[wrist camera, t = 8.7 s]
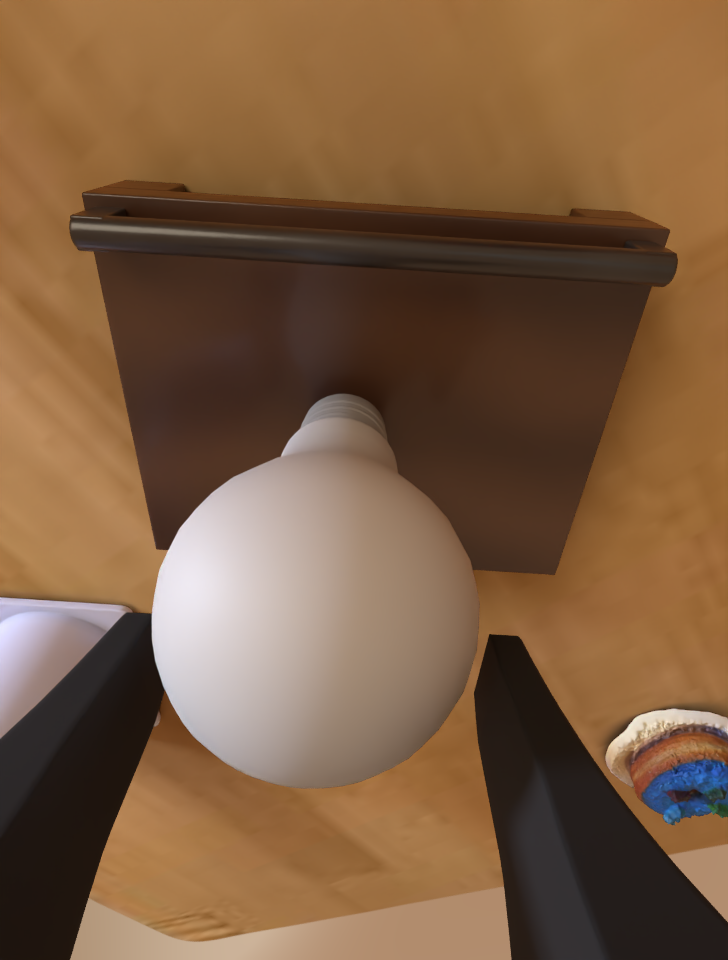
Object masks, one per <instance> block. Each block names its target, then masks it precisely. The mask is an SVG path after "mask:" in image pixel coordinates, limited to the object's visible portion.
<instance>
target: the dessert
mask: <svg viewBox="0 0 728 960" xmlns="http://www.w3.org/2000/svg"><path fill="white" fill-rule="evenodd" d="M605 756H606V757H605V758H606V764H607V766H608V768H609V769H610V771H611V772H612V774H613V775H615V776H617V778H619V779H620V780H621V781H623V782H624V783H625V784H627V785H629V786H630V787H632V788H634V787H635V792H636V794H637V797H638V798H639V799H640V800H641V801H642V802H643V803H644V804H646V805H647V806H648V807H649V808H651V809H653V810H654V811H656V812H657V813H659V814H662V815H664V816H663V819H664V820H665V822H667V823H668V824H671V825H675V821H676V822H678V823H679V822H680V818H681V819H682V818H684V817H688V818H691V816H694V815H696V816H704V814H706V815H707V814H709V813H711V812H712V813H713V815H714V814H715V813H716V814H718V815H720V817H722V818H723V817H728V719H727V718H726V717H722V716H720V715H717V714H714V713H711V712H700V711H695V710H694V711H690V710H689V711H687V710H678V709H669V710H665V711H662V710H661V711H652V712H649V713H647V714H642V715H640V716H637V717H636V718H634V720H633V721H632V722H631V723H630V724H629V727H628V728H627V729H626V730H625V731H624V732H623V733H622V734H620V735H619V736H618V737H617V738H615V739H614V740H613V742H611V744H610V745H609V747H608V750H607V753H606V755H605Z"/></svg>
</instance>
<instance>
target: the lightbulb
mask: <svg viewBox="0 0 728 960" xmlns="http://www.w3.org/2000/svg"><path fill="white" fill-rule="evenodd" d="M479 608H480V603H479V598H478V592H477V587H476V582H475V578H474V574H473V569H472V565H471V561H470V559H469V557H468V555H467V553H466V551H465V549H464V548H463V546H462V544H461V542H460V540H459V538H458V536H457V535H456V533H455V531H454V529H453V527H452V525H451V524H450V522H449V520H448V518H447V517H446V516H445V515H444V514H443V513H442V511H441V510H440V509H439V508H438V507H437V506H436V505H435V504H434V502H433V501H432V500H431V499H430V498H429V497H427V496H426V495H425V494H424V493H423V492H421V491H420V490H419V489H418V488H417V487H415V486H414V485H413V484H412V483H410V482H409V481H408V480H406V479H405V478H403V477H402V476H401V475H399V474H398V470H397V462H396V459H395V456H394V453H393V451H392V449H391V447H390V445H389V444H388V441H387V434H386V430H385V424H384V420H383V418H382V416H381V414H380V412H379V411H378V410H377V409H376V407H375V406H374V405H372V404H371V403H370V402H369V401H367V400H365V399H363V398H361V397H358V396H355V395H351V394H334V395H330V396H327V397H325V398H323V399H321V400H319V401H318V402H316V403H315V404H314V405H313V406H312V407H311V408H310V409H309V411H308V413H307V415H306V417H305V419H304V421H303V422H302V425H301V428H300V430H299V431H297V432H296V433H295V434H294V435H293V436H292V438H291V439H290V440H289V441H288V443H287V445H286V447H285V448H284V450H283V453H282V455H281V457H278V458H275V459H273V460H271V461H268V462H266V463H264V464H261V465H259V466H257V467H254V468H252V469H250V470H248V471H246V472H243V473H241V474H239V475H237V476H234V477H233V478H231V479H230V480H229V481H227V482H226V483H224V484H223V485H222V486H220V487H219V488H218V489H216V490H215V491H214V492H212V493H211V494H210V495H209V496H208V497H207V498H206V499H205V500H204V501H203V502H202V503H201V504H200V505H199V506H198V507H197V508H196V509H195V511H194V512H193V513H192V514H191V515H190V517H189V518H188V519H187V520H186V521H185V523H184V524H183V525H182V526H181V527H180V528H179V530H178V532H177V534H176V536H175V538H174V540H173V542H172V544H171V546H170V548H169V550H168V553H167V555H166V557H165V559H164V561H163V563H162V566H161V568H160V570H159V575H158V580H157V585H156V590H155V595H154V603H153V610H152V644H153V650H154V656H155V662H156V665H157V668H158V671H159V674H160V678H161V681H162V684H163V687H164V689H165V691H166V693H167V695H168V697H169V699H170V702H171V704H172V705H173V707H174V709H175V710H176V712H177V714H178V715H179V717H180V719H181V721H182V722H183V724H184V725H185V726H186V728H187V729H188V730H189V732H190V733H191V734H192V735H193V737H194V738H195V739H197V740H198V741H199V742H200V743H201V744H202V745H204V746H205V747H206V748H207V749H208V750H210V751H211V752H212V753H213V754H214V755H216V756H217V757H218V758H219V759H221V760H222V761H223V762H225V763H226V764H228V765H229V766H231V767H233V768H234V769H236V770H238V771H240V772H242V773H244V774H247V775H249V776H251V777H253V778H256V779H260V780H263V781H266V782H269V783H273V784H277V785H282V786H287V787H294V788H330V787H339V786H345V785H349V784H354V783H358V782H361V781H363V780H366V779H369V778H371V777H374V776H376V775H378V774H380V773H382V772H384V771H387V770H389V769H391V768H393V767H395V766H396V765H398V764H400V763H401V762H403V761H405V760H407V759H408V758H410V757H411V756H412V755H413V754H414V753H415V752H416V751H417V750H418V749H420V748H421V747H422V746H423V745H424V744H425V743H426V742H427V741H428V740H429V739H430V738H431V737H432V736H433V735H434V734H435V733H436V732H437V731H438V730H439V728H440V727H441V725H442V724H443V723H444V721H445V720H446V718H447V717H448V715H449V714H450V712H451V711H452V709H453V708H454V706H455V704H456V703H457V701H458V700H459V698H460V697H461V695H462V694H463V692H464V689H465V686H466V683H467V680H468V677H469V674H470V671H471V668H472V664H473V661H474V657H475V654H476V651H477V642H478V630H479Z"/></svg>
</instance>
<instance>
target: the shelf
mask: <svg viewBox="0 0 728 960" xmlns="http://www.w3.org/2000/svg"><path fill="white" fill-rule="evenodd" d="M82 197H83V202H84V207H85V211H82V212H79V213H76V214H73V215H71V216H70V224H69V229H70V235H71V239H72V241H73V243H74V245H75V246H76V247H77V249H78V250H80V251H94V254H95V259H96V264H97V269H98V273H99V278H100V283H101V288H102V293H103V297H104V302H105V307H106V312H107V316H108V321H109V326H110V331H111V335H112V340H113V345H114V350H115V355H116V359H117V364H118V369H119V374H120V378H121V383H122V388H123V393H124V397H125V402H126V407H127V412H128V417H129V421H130V426H131V431H132V436H133V440H134V445H135V450H136V455H137V459H138V464H139V469H140V474H141V478H142V483H143V488H144V493H145V498H146V502H147V507H148V512H149V517H150V521H151V526H152V531H153V536H154V540H155V545H156V549H159V550H169V548H170V546H171V544H172V542H173V540H174V538H175V536H176V534H177V532H178V530H179V528H180V527H181V526H182V525H183V524H184V523H185V521H186V520H187V519H188V518H189V517H190V515H191V514H192V513H193V512H194V511H195V509H196V508H197V507H198V506H199V505H200V504H201V503H202V502H203V501H204V500H205V499H206V498H207V497H208V496H209V495H210V494H211V493H212V492H214V491H215V490H216V489H218V488H219V487H220V486H222V485H223V484H224V483H226V482H227V481H229V480H230V479H231V478H233V477H234V476H237V475H239V474H241V473H243V472H246V471H248V470H250V469H252V468H254V467H257V466H259V465H261V464H264V463H266V462H268V461H271V460H273V459H275V458H278V457H281V455H282V453H283V450H284V448H285V447H286V445H287V443H288V441H289V440H290V439H291V438H292V436H293V435H294V434H295V433H296V432H297V431H299V430H300V428H301V425H302V422H303V421H304V419H305V417H306V415H307V413H308V411H309V409H310V408H311V407H312V406H313V405H314V404H315V403H316V402H318V401H319V400H321V399H323V398H325V397H327V396H330V395H334V394H351V395H355V396H358V397H361V398H363V399H365V400H367V401H369V402H370V403H371V404H372V405H374V406H375V407H376V409H377V410H378V411H379V412H380V414H381V416H382V418H383V420H384V424H385V430H386V434H387V441H388V444H389V445H390V447H391V449H392V451H393V453H394V456H395V459H396V462H397V470H398V474H399V475H401V476H402V477H403V478H405V479H406V480H408V481H409V482H410V483H412V484H413V485H414V486H415V487H417V488H418V489H419V490H420V491H421V492H423V493H424V494H425V495H426V496H427V497H429V498H430V499H431V500H432V501H433V502H434V504H435V505H436V506H437V507H438V508H439V509H440V510H441V511H442V513H443V514H444V515H445V516H446V517H447V518H448V520H449V522H450V524H451V525H452V527H453V529H454V531H455V533H456V535H457V536H458V538H459V540H460V542H461V544H462V546H463V548H464V549H465V551H466V553H467V555H468V557H469V559H470V561H471V565H472V569H473V570H486V571H502V572H518V573H533V574H549V575H555V573H556V570H557V567H558V564H559V561H560V558H561V555H562V552H563V549H564V546H565V543H566V540H567V537H568V534H569V531H570V528H571V525H572V522H573V519H574V516H575V513H576V510H577V507H578V504H579V501H580V498H581V495H582V492H583V489H584V486H585V484H586V481H587V478H588V475H589V472H590V469H591V466H592V463H593V460H594V457H595V454H596V451H597V448H598V445H599V442H600V439H601V436H602V433H603V430H604V427H605V424H606V421H607V418H608V415H609V412H610V409H611V406H612V403H613V400H614V397H615V394H616V391H617V388H618V385H619V382H620V379H621V376H622V373H623V370H624V367H625V364H626V361H627V358H628V355H629V352H630V349H631V346H632V343H633V340H634V337H635V334H636V331H637V328H638V325H639V322H640V320H641V317H642V314H643V311H644V308H645V305H646V302H647V299H648V296H649V293H650V290H651V287H652V286H654V287H665V286H666V285H668V284H669V283H670V282H671V281H672V279H673V277H674V275H675V273H676V269H677V264H678V259H677V254H676V253H675V252H673V251H671V250H669V249H667V248H665V245H666V242H667V239H668V236H669V233H670V230H669V229H668V228H665V227H663V226H661V225H658V224H656V223H654V222H652V221H649V220H647V219H645V218H642V217H640V216H638V215H636V214H633V213H631V212H621V211H605V210H589V209H572V210H571V212H570V216H556V215H541V214H525V213H509V212H493V211H477V210H461V209H445V208H429V207H413V206H397V205H382V204H366V203H350V202H334V201H318V200H302V199H286V198H270V197H254V196H238V195H222V194H207V193H191V192H185V186H184V185H183V184H176V183H160V182H145V181H129V180H125V181H121V182H118V183H114V184H111V185H107V186H104V187H100V188H97V189H93V190H90V191H86V192H83V193H82Z"/></svg>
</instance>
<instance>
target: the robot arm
mask: <svg viewBox="0 0 728 960" xmlns="http://www.w3.org/2000/svg"><path fill="white" fill-rule="evenodd" d="M164 690H165V689H164V687H163V684H162V681H161V678H160V674H159V671H158V668H157V665H156V662H155V656H154V650H153V644H152V614H147V613H133V611H132V610H131V609H130V608H129V607H127V606H124V605H112V604H96V603H81V602H65V601H50V600H34V599H19V598H3V597H0V960H70V958H71V954H72V951H73V948H74V944H75V941H76V938H77V934H78V931H79V928H80V924H81V921H82V917H83V914H84V910H85V907H86V904H87V901H88V898H89V894H90V891H91V888H92V885H93V882H94V879H95V875H96V872H97V869H98V866H99V863H100V860H101V856H102V853H103V851H104V848H105V845H106V843H107V840H108V837H109V834H110V832H111V829H112V827H113V824H114V822H115V819H116V817H117V815H118V812H119V810H120V807H121V805H122V802H123V800H124V798H125V795H126V793H127V790H128V788H129V786H130V783H131V781H132V778H133V776H134V773H135V771H136V769H137V766H138V764H139V761H140V759H141V756H142V754H143V752H144V749H145V747H146V744H147V742H148V739H149V737H150V734H151V732H152V729H153V727H155V726H157V725H158V724H159V722H160V720H161V716H160V712H159V708H160V705H161V701H162V698H163V694H164ZM474 698H475V712H476V724H477V735H478V744H479V749H480V755H481V760H482V765H483V771H484V776H485V781H486V786H487V792H488V797H489V802H490V807H491V812H492V818H493V823H494V828H495V833H496V838H497V843H498V849H499V854H500V860H501V867H502V873H503V880H504V889H505V899H506V908H507V918H508V927H509V936H510V947H511V957H512V960H728V922H727V921H726V920H725V919H724V918H723V917H722V916H721V914H720V913H718V911H717V910H716V909H715V908H714V907H713V906H712V905H711V903H710V902H709V901H708V900H707V899H706V898H705V897H704V896H703V895H702V894H701V892H700V891H699V890H698V889H697V888H696V887H695V886H694V885H693V884H692V883H691V881H690V880H689V879H688V878H687V877H686V876H685V875H684V874H683V873H682V872H681V871H680V869H679V868H678V867H677V866H676V865H675V864H674V863H673V861H672V860H671V859H670V858H669V857H668V855H667V854H666V853H665V852H664V851H663V849H662V848H661V847H660V846H659V845H658V843H657V842H656V841H655V840H654V839H653V837H652V836H651V835H650V834H649V833H648V831H647V830H646V829H645V828H644V826H643V825H642V824H641V823H640V821H639V820H638V819H637V817H636V816H635V815H634V814H633V812H632V811H631V810H630V809H629V807H628V806H627V805H626V803H625V802H624V801H623V799H622V798H621V797H620V796H619V794H618V793H617V791H616V790H615V789H614V787H613V786H612V785H611V783H610V782H609V781H608V779H607V778H606V776H605V775H604V774H603V772H602V771H601V769H600V768H599V766H598V765H597V764H596V762H595V761H594V759H593V758H592V757H591V755H590V754H589V752H588V751H587V749H586V748H585V746H584V745H583V743H582V742H581V740H580V739H579V737H578V735H577V734H576V732H575V731H574V729H573V728H572V726H571V725H570V723H569V721H568V720H567V718H566V717H565V715H564V714H563V712H562V710H561V709H560V707H559V706H558V704H557V702H556V701H555V699H554V697H553V696H552V694H551V692H550V690H549V689H548V687H547V685H546V684H545V682H544V680H543V678H542V677H541V675H540V673H539V671H538V670H537V668H536V666H535V664H534V662H533V661H532V659H531V657H530V655H529V653H528V651H527V649H526V647H525V646H524V644H523V642H522V640H521V639H520V638H519V637H518V636H509V635H492V634H489V638H488V642H487V645H486V649H485V653H484V657H483V661H482V665H481V668H480V672H479V676H478V680H477V684H476V688H475V691H474Z"/></svg>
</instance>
